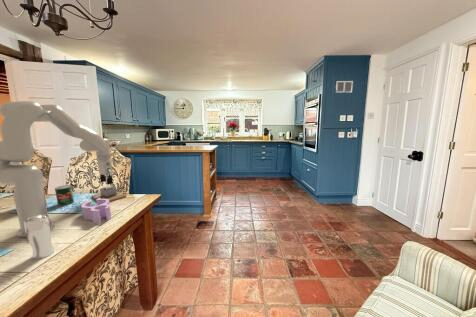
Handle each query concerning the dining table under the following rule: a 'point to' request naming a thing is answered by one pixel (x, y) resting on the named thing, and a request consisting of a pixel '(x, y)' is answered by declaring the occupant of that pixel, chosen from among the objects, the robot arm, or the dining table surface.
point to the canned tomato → (64, 195)
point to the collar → (108, 192)
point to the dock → (112, 198)
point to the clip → (96, 210)
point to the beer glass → (39, 235)
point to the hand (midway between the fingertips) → (106, 182)
